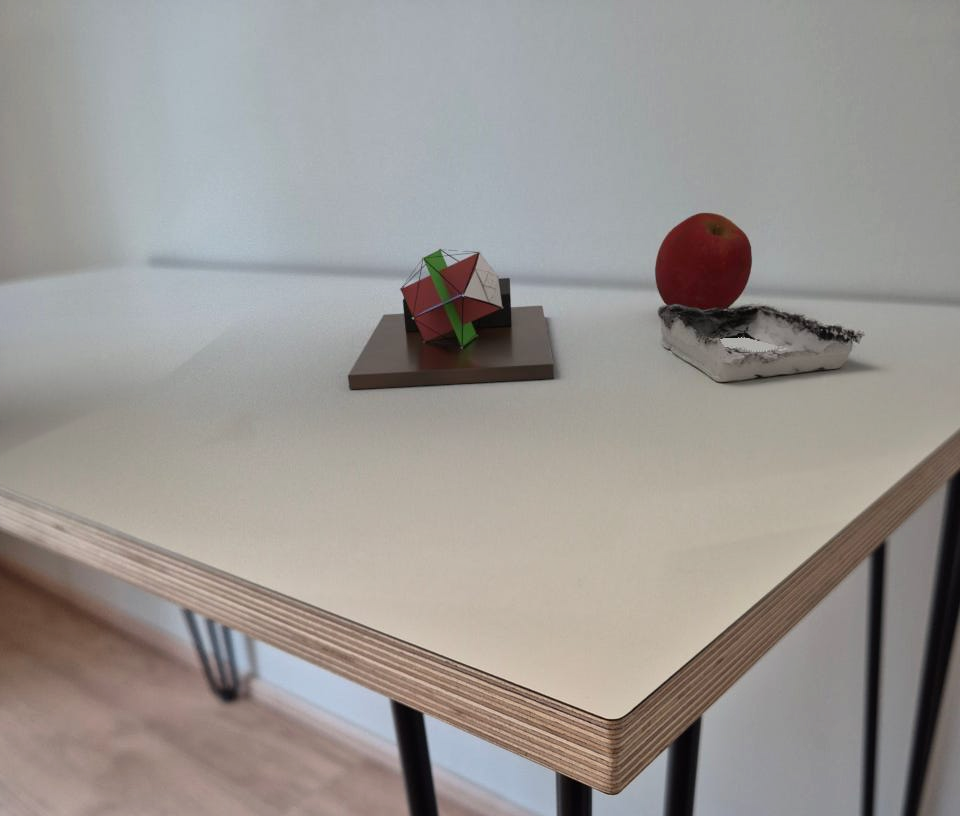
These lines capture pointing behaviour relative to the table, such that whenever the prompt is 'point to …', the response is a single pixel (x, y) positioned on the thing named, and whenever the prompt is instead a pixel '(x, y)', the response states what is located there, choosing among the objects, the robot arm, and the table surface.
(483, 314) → the geometric puzzle
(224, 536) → the table surface
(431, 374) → the assembly board
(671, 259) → the apple
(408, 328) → the black block
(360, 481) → the table surface
